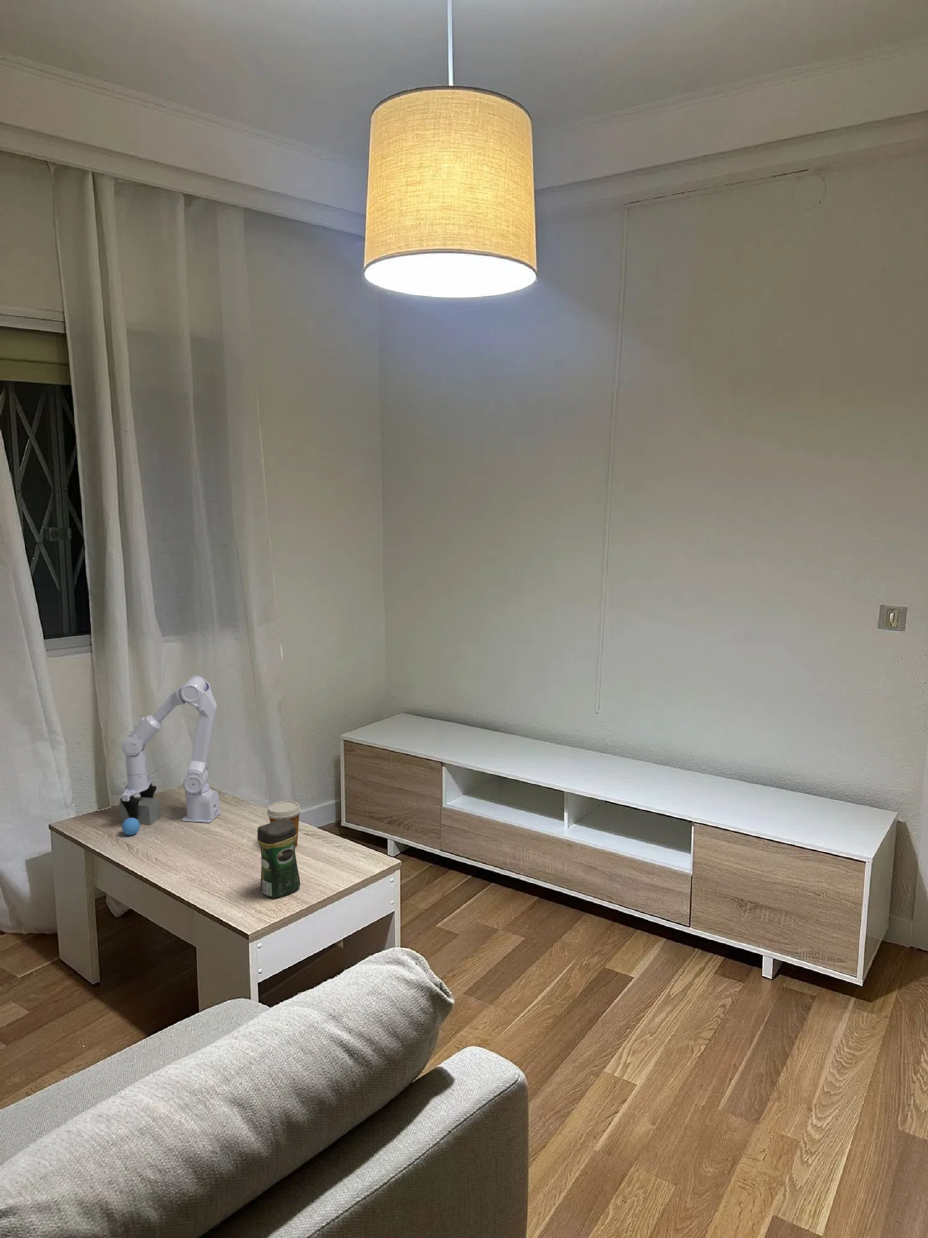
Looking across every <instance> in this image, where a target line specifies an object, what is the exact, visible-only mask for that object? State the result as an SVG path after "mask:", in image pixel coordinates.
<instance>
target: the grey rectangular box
mask: <svg viewBox="0 0 928 1238" xmlns="http://www.w3.org/2000/svg"><path fill="white" fill-rule="evenodd" d="M134 797H135V799H140V801H139V804H138V818H137V820H138V821H139V823H140V825H142V824H144V825H143V826H151V825H153V824H154V823H155V822H157V821H158V820H159V819H161V818H162V813H161V804H160V803H161V800H160V798H159V797H158V798H157V797H153V798H145V797H141V796H134ZM118 807H119V816H120V824H123V822H124V821H125V820H126V819H128V818H129V815H128V813H127V811H126V809H125V807H124V806H123V804H122V803H121V802H120V803H118Z"/></svg>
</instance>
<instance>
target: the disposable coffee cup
mask: <svg viewBox="0 0 928 1238" xmlns="http://www.w3.org/2000/svg"><path fill="white" fill-rule="evenodd" d="M301 811H302V808H301V807H300V804H299V803H298V802H297V801H293V800H282V801H281V800H280V801H276V802H273V803H271V804H270V805H268V808H267V810H266V815H267V817H268V818H269V819H268V820H269V823H272V822H275V821H278V820H281V819H283V818H287V819H289V820H291V821H292V822H293V823H294V825H295V829H296V840H295V848H297V846H298V839H299V838H298V837H299V825H300V823H299V822H300V814H301Z"/></svg>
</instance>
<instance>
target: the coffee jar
mask: <svg viewBox="0 0 928 1238" xmlns="http://www.w3.org/2000/svg"><path fill="white" fill-rule="evenodd" d="M256 837H257V843H258V846H259V847H260V855H261V858H260V859H261V860H260V861H261V862H260V863H261V868H260V870H261V871H260V891H261V892H262V893H263V894H264V896H266V897H268V898H273V899H277V898H280V897H285V896H286V895H288V894H291V893H293V892H296V891H297V890H299V888H300V887H301V880H300V878H301V877H300V875H299V874H300V873H299V867H298V862H297V856H296V847H295V840H296V829H295V825H294V823H293V822H292V821H291V820H289V819H287V818H283V819H281V820H278V821H275V822H272V823H270V822H269V823H266V824H264V825H260V826H258V827H257V836H256Z"/></svg>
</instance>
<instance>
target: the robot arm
mask: <svg viewBox="0 0 928 1238" xmlns="http://www.w3.org/2000/svg"><path fill="white" fill-rule="evenodd" d="M186 703H187V704H188V705H190V706H192V707H194V708H195V709H196V710H197V712H198V713H199V714H198V721H197V726H196V730H195V731H196V732H195V737H194V738H195V739H194V742H193V743H194V744H193V748H192V755H191V761H190V764H189V767H188V770H187V774H186V776H185V777H184V778H183V781H182V786H183V789H184V793H185V804H186V815H185V816H184V817H182V819H181V822H191V823H192V822H194V823H204V824H205V823H206V824H207V823H211V822H213V820H215V819H216V818H217V817H219V816H220V815H221V814H222V811H221V809H220V806H221V805H220V796H219V792H218V791H217V790H213V789H211V788H210V785H209V783H208V780H209V778H210V776H211V775H210V774H211V773H210V770H209V755H210V751H211V750H210V748H211V744H212V740H213V739H212V738H213V734H214V733H213V731H214V728H215V721H216V715H217V711H218V704H217V702H216V699H215V697H214V694H213V692H212V689H211V684H210V683H209V682H208V681H207V680H206V679H205V678H204V677H202V676H200V675H192V676H191V677H189V678H188V679H187V681H186V682H184V683H183V684H181V685H180V686H178V688H176V689H175V690H174V691H173V692H172V693H171V694H170V696H168V697H167V699H166V700H165V702H164V703H162V705H161V706H160V707H159V708H158V710H157V711H155V713H154V714H152V715H146V716H145V717H142V718H141V719H140V720H139V722H140V723H138V725H136V728H134V729H131V731H130V732H129V735H128V736H127V737H125V739H124V740H123V742H122V745H121V750H122V752H123V753H124V755H125V757H124V758H125V769H126V779H127V781H126V782H127V784H126V785H125V786H124V789H125V791H124V792H123V793H122V794H121V797H120V800H119V802H120V803H122V804H123V806H124V807H125V809H126V811H127V813H128V815H129V818H135V819H137V818H138V804H139V801H140V799H135V797H136V795H138V794H139V795H140V796H139V797H145V798H154V795H155V793H156V790H157V786H156V785H154V784H155V780H154V777H148V774H147V763H146V762H147V761H146V760H147V759H146V753H145V748H146V745H147V744H149V743H150V742H151V740H152V739H154V737H155V736H156V735H157V734H158V733H159V732H160V730H162V728H163V724H162V722H163V721H164V720H165V719H166V717H168V715H169V714H170V713H171V712H172V711H173V710H174V709H175V708H176V707H177V706H182V705H185V704H186Z"/></svg>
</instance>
